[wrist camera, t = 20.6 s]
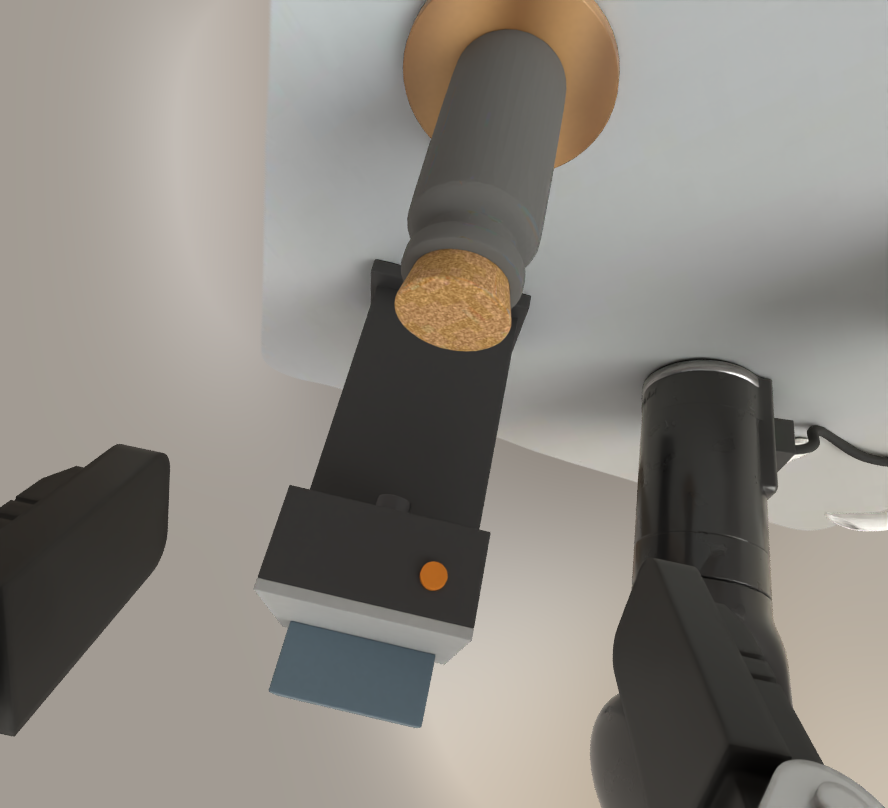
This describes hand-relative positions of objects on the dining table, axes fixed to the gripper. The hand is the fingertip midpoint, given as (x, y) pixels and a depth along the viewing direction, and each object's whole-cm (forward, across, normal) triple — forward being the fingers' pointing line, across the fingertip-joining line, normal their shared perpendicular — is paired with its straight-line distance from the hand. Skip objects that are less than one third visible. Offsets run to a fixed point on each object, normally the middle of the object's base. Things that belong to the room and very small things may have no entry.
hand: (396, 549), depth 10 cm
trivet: (+28, 0, -10) cm, 29 cm away
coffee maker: (+39, +1, +3) cm, 39 cm away
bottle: (+27, 0, -10) cm, 29 cm away
